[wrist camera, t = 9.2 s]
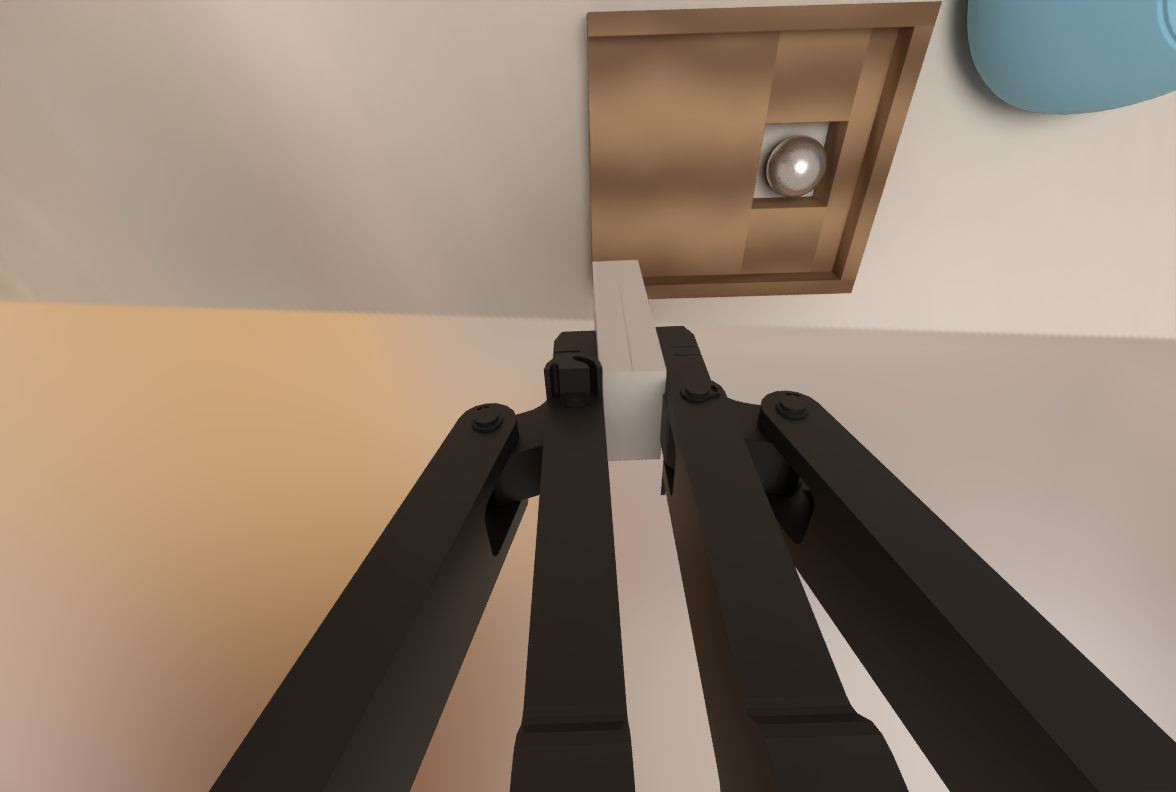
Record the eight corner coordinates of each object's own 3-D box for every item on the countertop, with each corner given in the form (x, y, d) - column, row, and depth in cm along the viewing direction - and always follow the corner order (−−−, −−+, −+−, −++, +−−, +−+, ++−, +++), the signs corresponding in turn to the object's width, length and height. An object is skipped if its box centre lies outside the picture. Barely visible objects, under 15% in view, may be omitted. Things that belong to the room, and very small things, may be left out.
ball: (787, 129, 33) (760, 137, 31) (843, 133, 31) (817, 142, 29) (777, 187, 35) (752, 198, 33) (829, 194, 33) (804, 206, 31)
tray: (586, 14, 29) (587, 12, 25) (900, 4, 29) (941, 1, 25) (592, 277, 38) (593, 300, 35) (828, 270, 38) (851, 293, 35)
